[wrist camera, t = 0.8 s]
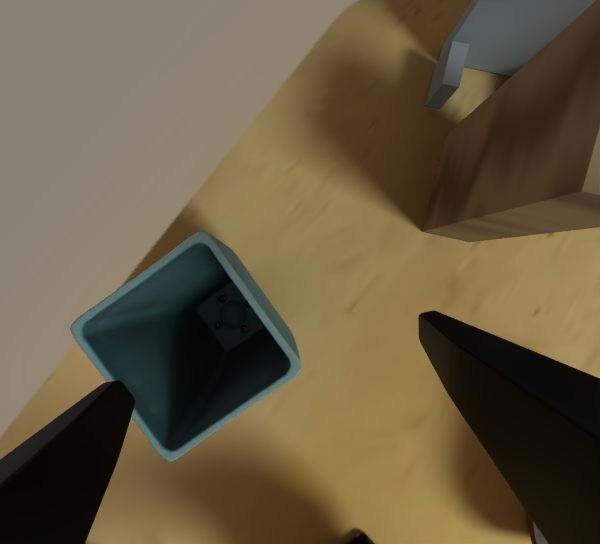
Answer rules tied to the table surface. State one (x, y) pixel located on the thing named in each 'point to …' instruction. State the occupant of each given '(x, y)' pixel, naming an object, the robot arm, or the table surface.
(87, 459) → the robot arm
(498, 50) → the grey gallows bracket
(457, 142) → the brown wooden block
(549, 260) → the table surface
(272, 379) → the flower pot
